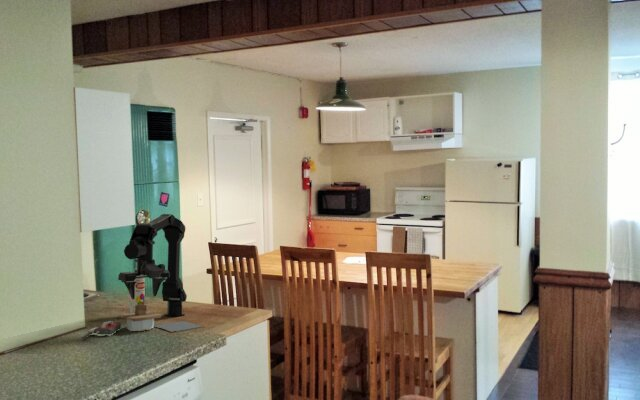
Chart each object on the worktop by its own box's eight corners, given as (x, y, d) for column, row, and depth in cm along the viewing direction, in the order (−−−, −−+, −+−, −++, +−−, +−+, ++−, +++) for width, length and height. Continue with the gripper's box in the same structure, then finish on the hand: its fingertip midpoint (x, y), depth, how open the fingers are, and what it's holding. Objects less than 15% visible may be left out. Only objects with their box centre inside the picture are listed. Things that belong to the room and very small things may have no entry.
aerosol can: (136, 318, 235) (137, 270, 235) (123, 316, 238) (124, 269, 238) (147, 315, 241) (148, 268, 241) (135, 314, 244) (136, 267, 244)
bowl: (122, 328, 217) (122, 316, 217) (145, 324, 224) (145, 313, 224) (135, 333, 211) (135, 321, 211) (158, 329, 218) (158, 317, 217)
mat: (154, 326, 221) (154, 325, 221) (183, 322, 230) (183, 321, 230) (172, 332, 212) (172, 331, 212) (201, 327, 221) (201, 326, 221)
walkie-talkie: (99, 329, 217) (79, 342, 197) (99, 317, 217) (79, 330, 197) (122, 329, 218) (104, 342, 198) (122, 318, 218) (104, 330, 198)
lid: (120, 316, 217) (120, 305, 217) (146, 313, 225) (146, 301, 225) (134, 321, 210) (134, 309, 210) (161, 317, 218) (161, 305, 217)
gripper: (133, 260, 204) (132, 303, 204) (178, 256, 218) (177, 297, 218) (117, 257, 212) (117, 299, 212) (161, 254, 226) (161, 294, 226)
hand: (144, 297), depth 217 cm, fingers open, 9 cm apart
